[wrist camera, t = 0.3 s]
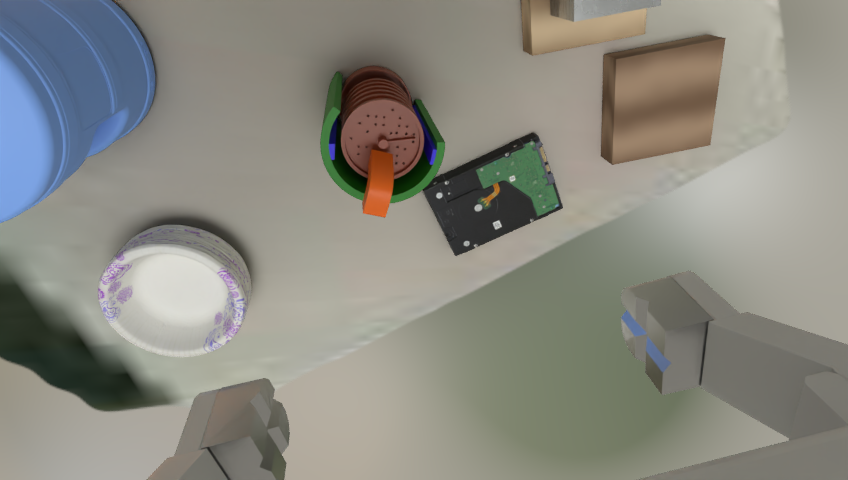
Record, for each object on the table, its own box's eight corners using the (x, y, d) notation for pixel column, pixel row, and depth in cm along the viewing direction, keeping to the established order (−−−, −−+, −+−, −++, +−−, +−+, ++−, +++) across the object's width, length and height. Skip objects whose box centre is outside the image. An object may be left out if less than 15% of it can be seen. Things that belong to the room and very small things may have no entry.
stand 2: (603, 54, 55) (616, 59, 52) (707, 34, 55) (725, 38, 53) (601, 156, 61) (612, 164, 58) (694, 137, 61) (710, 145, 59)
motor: (424, 69, 53) (460, 122, 36) (416, 149, 58) (445, 231, 40) (327, 61, 52) (317, 113, 34) (327, 144, 56) (317, 227, 39)
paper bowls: (107, 215, 57) (74, 251, 50) (245, 209, 58) (231, 242, 52) (143, 321, 64) (118, 365, 57) (264, 312, 66) (255, 353, 59)
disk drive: (452, 247, 65) (557, 199, 64) (456, 258, 63) (565, 208, 61) (419, 182, 60) (532, 128, 59) (421, 192, 58) (540, 136, 56)
